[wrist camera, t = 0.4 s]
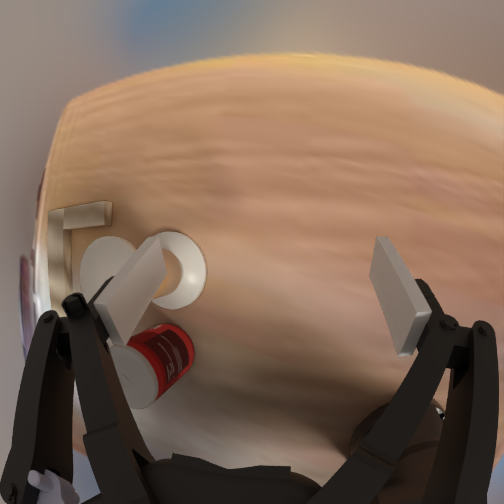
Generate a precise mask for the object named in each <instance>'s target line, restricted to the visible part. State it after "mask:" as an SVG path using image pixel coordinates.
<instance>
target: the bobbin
mask: <svg viewBox="0 0 504 504" xmlns="http://www.w3.org/2000/svg"><path fill="white" fill-rule="evenodd" d="M153 237H159V240H160V244H161V249H162V253H163V257H164V261H165V265H166V269H167V273H168V274H167V275H166V277H165V278H164V280H163V282H162V283H161V285H160V287H159V288H158V290H157V292H156V293H155V295H154V297H153V299H152V300H151V301H152V302H153V303H155V304H156V305H158V306H160V307H162V308H166V309H179V308H183V307H185V306H187V305H189V304H191V303H192V302H194V301H195V300H196V299H197V298H198V297H199V296H200V294H201V293H202V291H203V289H204V287H205V284H206V279H207V264H206V260H205V257H204V254H203V252H202V250H201V248H200V247H199V246H198V244H197V243H196V242H195V241H194V240H193V239H191V238H190V237H189V236H187V235H185V234H182V233H178V232H168V231H167V232H162V233H159V234H156V235H154V236H153ZM137 249H138V248H135V247H134V246H133V244H131V243H130V242H129V241H127V240H126V239H123V238H121V237H115V236H104V237H100V238H98V239H96V240H94V241H93V242H92V243H91V244H90V245H89V246H88V247H87V249H86V251H85V252H84V255H83V257H82V260H81V264H80V273H79V275H80V286H81V290H82V294H83V296H84V298H85V300H86V302H87V303H88V302H89V301H90V300H91V298H92V297H93V296H94V295H95V293H96V292H97V291H98V290H99V288H101V286H102V285H103V283H104V282H105V281H106V280H108V279H109V278H110V277H112V276H115V275H116V274H117V273H118V271H119V270H120V269H121V268H122V267H123V265H124V264H125V263H126V262H127V261H128V259H129V258H130V257H131V256H132V255H133V254H134V252H135V251H136V250H137Z"/></svg>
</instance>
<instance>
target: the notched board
mask: <svg viewBox="0 0 504 504" xmlns="http://www.w3.org/2000/svg"><path fill="white" fill-rule="evenodd" d="M111 225H112V202H109V201H100V202H94V203H88V204H83V205H77V206H72V207H67V208H62V209H57V210H52V211H48V275H49V289H50V300H51V309H52V310H55V311H56V312H57V313H58V315H59V317H66V316H67V315H66V313H65V312H64V310H63V308H62V306H61V304H62V301H63V300H64V299H65V298H66V297H67V296H69V295H71V294H73V288H72V273H71V230H72V229H81V228H90V227H100V226H111Z"/></svg>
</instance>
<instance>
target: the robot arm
mask: <svg viewBox="0 0 504 504" xmlns="http://www.w3.org/2000/svg"><path fill="white" fill-rule="evenodd" d="M167 274H168V273H167V269H166V265H165V261H164V257H163V253H162V249H161V244H160V240H159V237H148V238H147V239H146V240H145V241H144V242H143V243H142V244H141V246H140V247H139V248H138V249H137V250H136V251H135V252H134V254H133V255H132V256H131V257H130V258H129V259H128V261H127V262H126V263H125V264H124V265H123V267H122V268H121V269H120V270H119V271H118V273H117V274H116V275H115V276H112V277H110V278H109V279H108V280H106V281H105V282H104V283H103V285H102V286H101V288H99V290H98V291H97V292H96V293H95V295H94V296H93V297H92V298H91V300H90V301H89V302H88V303H87V302H86V300H85V298H84V296H83V294H82V293H73V294H71V295H69V296H67V297H66V298H65V299H64V300H63V301H62V304H61V306H62V308H63V310H64V312H65V313H66V315H67V316H66V317H59V315H58V313H57V312H56V311H55V310H49V311H46V312H45V313H43V314H42V315H41V316H40V318H39V320H38V323H37V326H36V329H35V332H34V335H33V338H32V342H31V345H30V349H29V352H28V356H27V359H26V363H25V367H24V371H23V376H22V380H21V385H20V390H19V395H18V401H17V406H16V412H15V419H14V427H13V436H12V447H11V450H10V453H9V455H8V458H7V461H6V464H5V468H4V471H3V474H2V478H1V481H0V494H1V496H2V498H3V500H4V501H5V502H6V503H7V504H78V503H79V501H80V498H79V495H78V494H77V493H76V492H75V490H74V488H73V486H72V482H73V452H72V451H73V449H72V416H73V395H74V381H75V380H76V386H77V391H78V396H79V401H80V405H81V410H82V414H83V418H84V422H85V426H86V430H87V434H85V435H83V441H84V445H85V449H86V452H87V455H88V459H89V462H90V465H91V468H92V471H93V473H94V476H95V479H96V482H97V484H98V487H99V489H100V492H101V493H100V494H98V495H96V496H94V497H92V498H91V499H89V500H87V501H85V502H83V503H81V504H487V491H488V487H489V483H490V478H491V473H492V468H493V462H494V456H495V448H496V440H497V429H498V414H499V373H498V357H497V346H496V337H495V331H494V329H493V327H492V326H491V325H490V324H489V323H487V322H485V321H481V320H479V321H476V322H475V323H474V324H473V326H472V328H468V327H462V326H459V324H458V322H457V321H456V319H455V318H453V317H452V316H449V315H446V314H444V312H443V310H442V308H441V306H440V305H439V303H438V301H437V299H436V298H435V296H434V294H433V292H432V291H431V289H430V287H429V286H428V284H426V283H425V282H424V281H423V280H422V279H414V278H413V276H412V275H411V273H410V271H409V269H408V268H407V266H406V264H405V263H404V261H403V260H402V258H401V256H400V255H399V253H398V252H397V250H396V248H395V247H394V245H393V244H392V242H391V241H390V239H389V238H388V237H381V236H376V241H375V247H374V253H373V258H372V264H371V269H370V274H369V276H370V279H371V281H372V284H373V286H374V289H375V291H376V294H377V297H378V299H379V302H380V305H381V307H382V310H383V313H384V316H385V319H386V321H387V324H388V327H389V330H390V333H391V336H392V339H393V342H394V345H395V349H396V352H397V355H398V357H401V356H410V355H412V354H413V352H414V350H415V348H416V347H417V350H418V352H419V353H418V355H417V357H416V359H415V361H414V363H413V365H412V367H411V368H410V370H409V372H408V374H407V375H406V377H405V379H404V381H403V382H402V384H401V386H400V387H399V389H398V391H397V392H396V394H395V395H394V397H393V399H392V400H391V402H390V403H388V404H386V405H384V406H382V407H380V408H379V409H377V410H376V411H374V412H373V413H372V414H370V415H369V416H368V417H367V418H366V419H365V420H364V421H363V422H362V423H361V424H360V425H359V427H358V428H357V429H356V431H355V433H354V434H353V437H352V439H351V443H350V454H351V456H350V457H349V458H348V459H347V461H346V462H345V463H344V464H343V465H342V466H341V468H340V469H339V470H338V471H337V472H336V473H335V474H334V475H333V476H332V478H331V479H330V480H329V481H328V482H327V483H326V484H325V485H324V486H323V487H321V486H320V485H318V484H317V483H316V482H315V481H313V480H311V479H310V478H308V477H306V476H304V475H301V474H298V473H295V472H290V470H291V466H262V465H260V466H253V467H246V468H238V469H226V468H223V467H220V466H218V465H215V464H212V463H210V462H207V461H205V460H203V459H200V458H195V457H190V456H185V455H180V454H175V453H173V454H172V457H171V459H162V460H158V461H155V459H154V458H153V456H152V455H151V453H150V452H149V450H148V449H147V447H146V445H145V443H144V440H143V438H142V436H141V434H140V432H139V429H138V427H137V425H136V422H135V420H134V418H133V415H132V413H131V410H130V408H129V405H128V403H127V400H126V397H125V395H124V392H123V389H122V386H121V383H120V381H119V378H118V375H117V372H116V369H115V365H114V362H113V359H112V356H111V352H110V349H109V346H108V344H107V342H106V341H107V339H108V338H109V337H110V338H111V340H112V342H113V344H115V345H120V346H126V344H127V343H128V341H129V339H130V337H131V335H132V333H133V332H134V330H135V328H136V326H137V325H138V323H139V321H140V319H141V318H142V316H143V314H144V312H145V311H146V309H147V307H148V305H149V304H150V302H151V300H152V299H153V297H154V295H155V293H156V292H157V290H158V288H159V287H160V285H161V283H162V282H163V280H164V278H165V277H166V275H167ZM446 368H450V369H451V372H450V382H449V390H448V398H447V404H446V410H445V411H444V409H443V408H442V407H441V405H440V404H439V403H438V402H437V401H435V400H434V399H432V398H433V396H434V394H435V392H436V390H437V387H438V385H439V383H440V381H441V378H442V376H443V373H444V371H445V369H446Z"/></svg>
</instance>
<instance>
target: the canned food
mask: <svg viewBox="0 0 504 504" xmlns="http://www.w3.org/2000/svg"><path fill="white" fill-rule="evenodd" d="M109 349H110V352H111V356H112V359H113V362H114V365H115V369H116V372H117V375H118V378H119V381H120V383H121V386H122V389H123V392H124V395H125V397H126V400H127V403H128V405H129V407H130V408H133V409H143V408H146V407H148V406H149V405H151V404H152V403H153V402H154V401H156V400H157V399H158V398H159V397H160V396H161V395H162V394H163V393H165V392H166V391H167V390H168V389H169V388H170V387H171V386H172V385H173V384H174V383H175V382H176V381H177V380H179V379H180V378H181V377H182V376H183V375H184V374H185V373H186V372H187V371H188V370H189V369H190V367H191V365H192V363H193V360H194V347H193V344H192V341H191V339H190V338H189V336H188V335H187V334H186V333H185V332H184V331H183V330H182V329H181V328H179V327H177V326H174V325H171V324H159V325H156V326H154V327H152V328H150V329H148V330H145V331H143V332H141V333H139V334H137V335H135V336H132V337H130V339H129V341H128V343H127V344H126V346H120V345H113V346H112V347H110V348H109Z"/></svg>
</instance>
